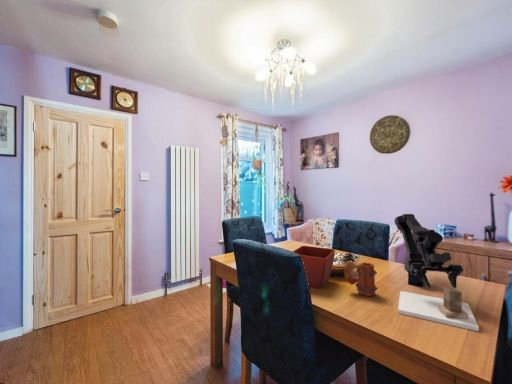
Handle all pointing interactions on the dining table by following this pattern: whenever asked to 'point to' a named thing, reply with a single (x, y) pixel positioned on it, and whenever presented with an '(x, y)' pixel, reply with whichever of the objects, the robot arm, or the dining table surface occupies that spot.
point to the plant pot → (317, 264)
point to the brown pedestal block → (452, 304)
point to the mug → (362, 277)
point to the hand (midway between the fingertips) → (442, 288)
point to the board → (433, 310)
